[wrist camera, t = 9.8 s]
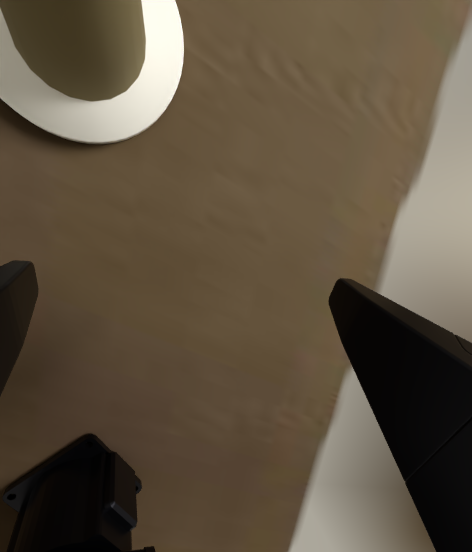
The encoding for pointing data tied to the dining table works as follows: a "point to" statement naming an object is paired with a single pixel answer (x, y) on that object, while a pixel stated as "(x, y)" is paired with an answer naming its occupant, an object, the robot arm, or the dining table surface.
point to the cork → (80, 43)
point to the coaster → (106, 113)
